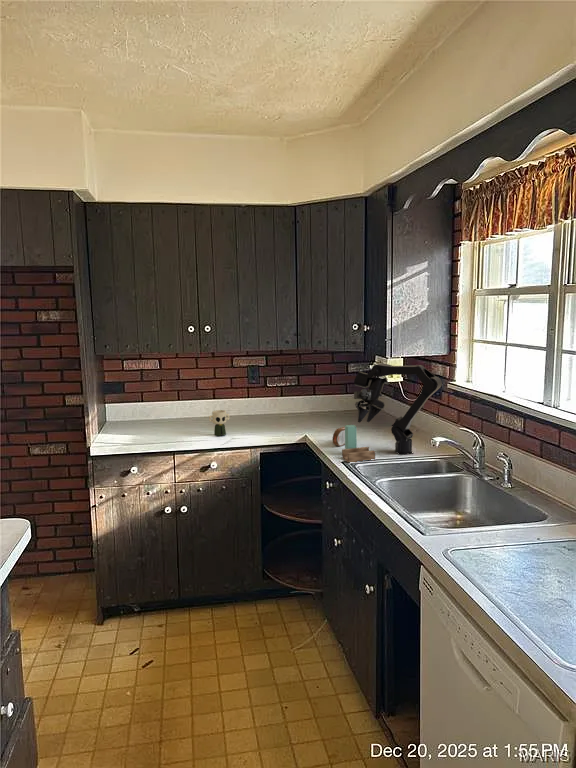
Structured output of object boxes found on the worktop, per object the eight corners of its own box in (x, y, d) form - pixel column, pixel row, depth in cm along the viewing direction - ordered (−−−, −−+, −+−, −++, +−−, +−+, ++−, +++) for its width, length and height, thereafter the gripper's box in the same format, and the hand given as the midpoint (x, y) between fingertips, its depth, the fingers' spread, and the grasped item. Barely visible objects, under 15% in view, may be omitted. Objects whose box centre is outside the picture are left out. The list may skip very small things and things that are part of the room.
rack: (367, 455, 255) (367, 446, 255) (374, 460, 247) (374, 451, 247) (342, 458, 252) (342, 449, 252) (348, 463, 244) (348, 454, 244)
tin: (349, 440, 283) (349, 424, 281) (354, 441, 281) (354, 424, 279) (332, 447, 271) (331, 430, 270) (337, 448, 269) (337, 430, 268)
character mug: (211, 438, 296) (210, 413, 295) (208, 435, 303) (207, 411, 301) (232, 435, 301) (231, 411, 299) (228, 432, 307) (227, 409, 305)
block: (353, 452, 261) (353, 424, 259) (356, 454, 257) (356, 426, 255) (345, 453, 260) (344, 425, 258) (348, 455, 256) (347, 427, 254)
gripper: (351, 384, 266) (339, 415, 263) (369, 381, 249) (356, 414, 246) (371, 394, 269) (360, 425, 266) (390, 391, 252) (378, 424, 248)
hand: (363, 422), depth 257 cm, fingers open, 9 cm apart
